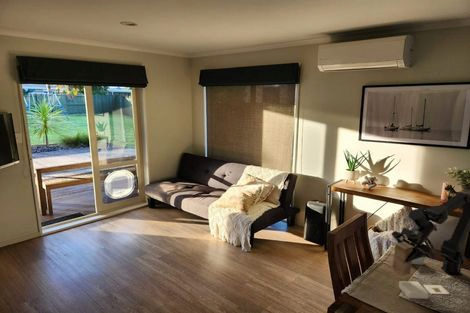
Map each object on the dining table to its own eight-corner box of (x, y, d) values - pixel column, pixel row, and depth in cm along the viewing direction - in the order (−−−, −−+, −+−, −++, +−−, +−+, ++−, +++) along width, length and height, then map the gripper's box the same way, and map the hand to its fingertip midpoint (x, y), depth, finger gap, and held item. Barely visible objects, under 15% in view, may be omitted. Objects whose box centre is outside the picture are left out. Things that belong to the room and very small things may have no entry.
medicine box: (419, 260, 156) (421, 245, 154) (423, 265, 151) (425, 249, 150) (403, 259, 157) (405, 244, 155) (407, 264, 152) (409, 248, 151)
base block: (416, 287, 134) (417, 281, 133) (427, 299, 126) (428, 292, 125) (398, 287, 134) (399, 281, 133) (408, 298, 126) (409, 292, 125)
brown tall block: (401, 267, 137) (404, 241, 135) (410, 273, 133) (414, 247, 130) (392, 269, 136) (395, 243, 133) (401, 276, 131) (405, 249, 128)
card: (440, 285, 134) (440, 284, 134) (449, 294, 128) (449, 293, 128) (422, 285, 135) (422, 284, 134) (430, 294, 129) (430, 293, 129)
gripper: (396, 214, 140) (375, 239, 138) (434, 230, 122) (410, 259, 121) (407, 227, 144) (387, 252, 142) (445, 245, 126) (422, 273, 125)
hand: (400, 258), depth 132 cm, fingers closed on brown tall block, 5 cm apart
